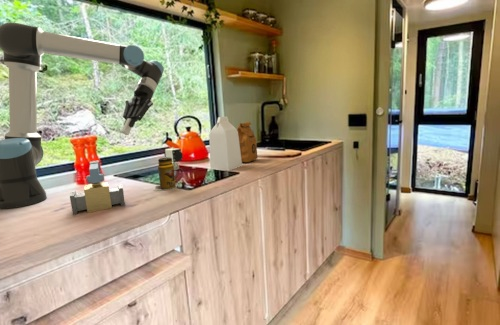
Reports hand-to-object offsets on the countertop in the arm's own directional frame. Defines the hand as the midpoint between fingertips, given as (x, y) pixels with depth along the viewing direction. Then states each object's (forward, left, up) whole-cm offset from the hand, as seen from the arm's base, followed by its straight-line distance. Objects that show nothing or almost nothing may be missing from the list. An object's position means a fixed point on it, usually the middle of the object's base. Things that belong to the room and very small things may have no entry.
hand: (124, 133), depth 119 cm
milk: (+47, +11, -23) cm, 53 cm away
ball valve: (-12, -22, -23) cm, 34 cm away
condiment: (+12, -10, -23) cm, 28 cm away
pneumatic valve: (+24, +26, -23) cm, 42 cm away
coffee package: (+63, +19, -23) cm, 70 cm away
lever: (-12, -16, -14) cm, 25 cm away
